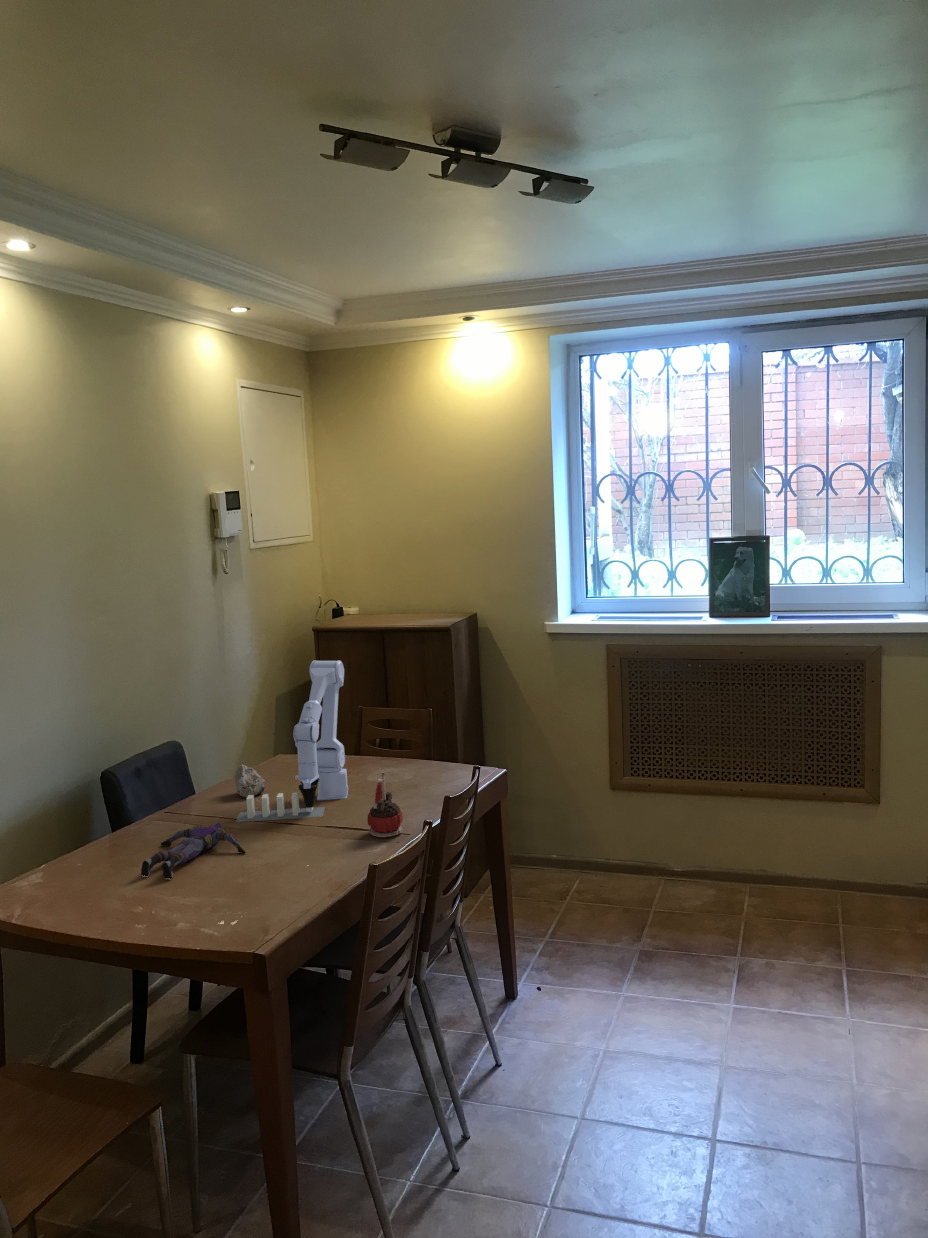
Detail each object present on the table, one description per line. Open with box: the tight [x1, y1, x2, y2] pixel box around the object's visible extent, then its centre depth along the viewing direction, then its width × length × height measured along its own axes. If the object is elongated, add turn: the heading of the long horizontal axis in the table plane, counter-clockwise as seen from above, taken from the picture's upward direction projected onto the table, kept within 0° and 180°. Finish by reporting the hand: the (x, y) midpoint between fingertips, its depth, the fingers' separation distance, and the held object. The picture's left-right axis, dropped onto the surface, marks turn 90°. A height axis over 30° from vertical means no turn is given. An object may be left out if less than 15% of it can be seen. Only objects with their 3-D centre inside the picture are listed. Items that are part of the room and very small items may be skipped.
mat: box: [235, 806, 326, 823], centre depth 294 cm, size 26×9×1 cm, turn 94°
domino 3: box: [276, 792, 285, 817], centre depth 293 cm, size 2×4×6 cm, turn 5°
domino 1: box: [246, 795, 256, 818], centre depth 293 cm, size 2×4×6 cm, turn 4°
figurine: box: [140, 821, 246, 879], centre depth 261 cm, size 27×6×30 cm
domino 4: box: [291, 791, 300, 816], centre depth 294 cm, size 2×4×6 cm, turn 5°
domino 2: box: [261, 793, 270, 817], centre depth 293 cm, size 2×4×6 cm, turn 4°
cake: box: [367, 771, 404, 838], centre depth 273 cm, size 11×9×18 cm
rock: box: [234, 764, 266, 799], centre depth 314 cm, size 9×12×10 cm
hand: (310, 804), depth 294 cm, fingers closed on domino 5, 4 cm apart
